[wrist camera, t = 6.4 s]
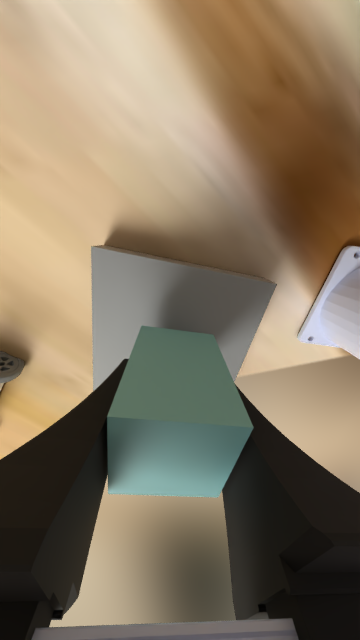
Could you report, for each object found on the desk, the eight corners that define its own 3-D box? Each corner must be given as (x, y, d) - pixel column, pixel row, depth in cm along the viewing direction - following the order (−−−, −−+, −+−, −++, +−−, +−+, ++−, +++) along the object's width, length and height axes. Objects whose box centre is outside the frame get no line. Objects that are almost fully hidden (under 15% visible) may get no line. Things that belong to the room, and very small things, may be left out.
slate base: (260, 276, 14) (277, 284, 12) (217, 386, 19) (223, 406, 17) (105, 244, 13) (91, 246, 10) (103, 372, 17) (93, 392, 15)
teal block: (213, 334, 11) (253, 427, 5) (198, 387, 13) (218, 497, 7) (141, 325, 11) (107, 416, 5) (136, 381, 12) (108, 493, 7)
